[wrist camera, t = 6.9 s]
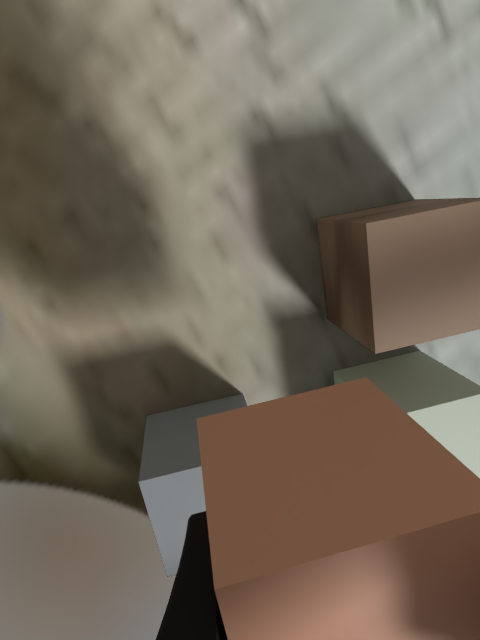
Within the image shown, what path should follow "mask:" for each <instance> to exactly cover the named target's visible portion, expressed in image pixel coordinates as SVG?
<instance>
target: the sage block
mask: <svg viewBox="0 0 480 640" xmlns="http://www.w3.org/2000/svg"><path fill="white" fill-rule="evenodd" d="M333 374H334V383H335V385H336V384H340V383H344V382H348V381H353V380H357V379H361V378H365V377H367V378H368V379H369V380H370V381H371V382H372V383H373V384H374V385H375V386H377V387H378V388H379V389H380V390H381V391H382V392H383V393H384V394H386V395H387V396H388V397H389V398H390V399H391V400H392V401H393V402H395V403H396V404H397V405H398V406H399V407H400V408H401V409H402V410H404V411H405V412H406V413H407V414H408V415H409V416H410V417H411V418H412V419H414V420H415V421H416V422H417V423H418V424H419V425H420V426H421V427H423V428H424V429H425V430H426V431H427V432H428V433H429V434H430V435H432V436H433V437H434V438H435V439H436V440H437V441H438V442H439V443H441V444H442V445H443V446H444V447H445V448H446V449H447V450H448V451H450V452H451V453H452V454H453V455H454V456H455V457H456V458H457V459H458V460H460V461H461V462H462V463H463V464H464V465H465V466H466V467H467V468H469V469H470V470H471V471H472V472H473V473H474V474H475V475H476V476H478V477H479V478H480V386H479V385H477V384H476V383H474V382H472V381H470V380H469V379H467V378H465V377H464V376H462V375H460V374H459V373H457V372H455V371H454V370H452V369H450V368H448V367H447V366H445V365H443V364H442V363H440V362H438V361H437V360H435V359H433V358H431V357H430V356H428V355H426V354H425V353H423V352H421V351H416V352H412V353H408V354H403V355H399V356H395V357H391V358H387V359H383V360H378V361H374V362H370V363H366V364H362V365H358V366H353V367H349V368H345V369H341V370H337V371H333Z"/></svg>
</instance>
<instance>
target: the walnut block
mask: <svg viewBox="0 0 480 640" xmlns="http://www.w3.org/2000/svg"><path fill="white" fill-rule="evenodd" d="M316 221H317V230H318V239H319V248H320V257H321V266H322V275H323V284H324V293H325V302H326V311H327V319H328V320H330V321H331V322H333V323H334V324H335V325H337V326H338V327H339V328H341V329H342V330H343V331H345V332H346V333H348V334H349V335H350V336H352V337H353V338H354V339H356V340H357V341H358V342H360V343H361V344H363V345H364V346H365V347H367V348H368V349H369V350H371V351H372V352H374V353H375V354H377V353H382V352H386V351H390V350H394V349H398V348H402V347H407V346H411V345H415V344H419V343H423V342H427V341H432V340H436V339H440V338H444V337H448V336H452V335H457V334H461V333H465V332H469V331H473V330H477V329H480V198H457V199H418V200H410V201H405V202H400V203H395V204H390V205H385V206H380V207H375V208H370V209H364V210H359V211H354V212H349V213H344V214H339V215H334V216H329V217H324V218H319V219H316Z"/></svg>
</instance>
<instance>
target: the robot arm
mask: <svg viewBox="0 0 480 640" xmlns="http://www.w3.org/2000/svg"><path fill="white" fill-rule="evenodd" d="M156 640H228V638H227V635H226V631H225V627H224V623H223V620H222V616H221V612H220V609H219V605H218V601H217V597H216V594H215V590H214V581H213V572H212V562H211V552H210V543H209V533H208V524H207V514H206V511H203V512H200V513H196V514H192V515H191V516H190V517H189V519H188V524H187V531H186V536H185V541H184V546H183V551H182V555H181V559H180V563H179V567H178V571H177V574H176V578H175V581H174V585H173V588H172V592H171V596H170V599H169V602H168V605H167V608H166V611H165V614H164V617H163V620H162V623H161V626H160V629H159V632H158V635H157V638H156Z"/></svg>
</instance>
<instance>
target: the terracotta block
mask: <svg viewBox="0 0 480 640" xmlns="http://www.w3.org/2000/svg"><path fill="white" fill-rule="evenodd" d="M197 429H198V438H199V448H200V457H201V467H202V476H203V486H204V495H205V505H206V514H207V524H208V533H209V543H210V552H211V562H212V572H213V581H214V590H215V594H216V597H217V601H218V605H219V609H220V612H221V616H222V620H223V623H224V627H225V631H226V635H227V638H228V640H480V478H479V477H478V476H476V475H475V474H474V473H473V472H472V471H471V470H470V469H469V468H467V467H466V466H465V465H464V464H463V463H462V462H461V461H460V460H458V459H457V458H456V457H455V456H454V455H453V454H452V453H451V452H450V451H448V450H447V449H446V448H445V447H444V446H443V445H442V444H441V443H439V442H438V441H437V440H436V439H435V438H434V437H433V436H432V435H430V434H429V433H428V432H427V431H426V430H425V429H424V428H423V427H421V426H420V425H419V424H418V423H417V422H416V421H415V420H414V419H412V418H411V417H410V416H409V415H408V414H407V413H406V412H405V411H404V410H402V409H401V408H400V407H399V406H398V405H397V404H396V403H395V402H393V401H392V400H391V399H390V398H389V397H388V396H387V395H386V394H384V393H383V392H382V391H381V390H380V389H379V388H378V387H377V386H375V385H374V384H373V383H372V382H371V381H370V380H369V379H368V378H367V377H365V378H361V379H357V380H353V381H348V382H344V383H340V384H336V385H332V386H328V387H324V388H320V389H316V390H312V391H308V392H303V393H299V394H295V395H291V396H287V397H283V398H279V399H275V400H271V401H267V402H263V403H258V404H254V405H250V406H246V407H242V408H238V409H234V410H230V411H226V412H222V413H218V414H214V415H209V416H205V417H201V418H197Z"/></svg>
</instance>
